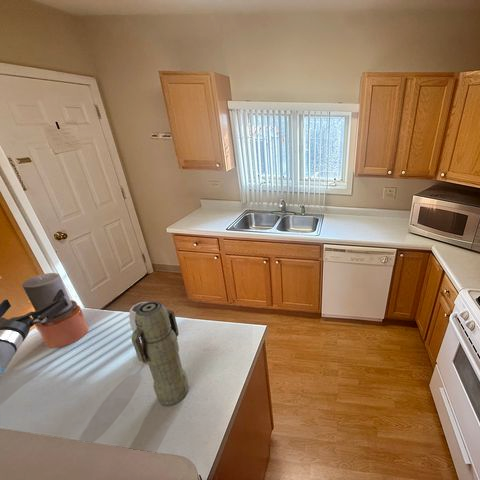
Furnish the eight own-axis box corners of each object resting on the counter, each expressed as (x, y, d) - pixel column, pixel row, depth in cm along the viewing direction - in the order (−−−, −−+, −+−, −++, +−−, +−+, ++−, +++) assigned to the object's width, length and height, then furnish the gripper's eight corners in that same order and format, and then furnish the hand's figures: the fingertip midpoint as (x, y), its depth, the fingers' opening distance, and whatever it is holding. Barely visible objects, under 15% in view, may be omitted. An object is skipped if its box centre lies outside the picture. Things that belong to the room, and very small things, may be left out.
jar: (36, 350, 95) (20, 323, 90) (59, 326, 107) (47, 301, 102) (77, 345, 98) (64, 319, 93) (95, 322, 110) (85, 297, 105)
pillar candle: (31, 320, 92) (12, 286, 86) (47, 304, 100) (31, 271, 94) (64, 315, 95) (48, 281, 89) (77, 299, 103) (64, 268, 97)
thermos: (147, 407, 78) (114, 318, 64) (175, 374, 89) (153, 291, 74) (171, 415, 76) (143, 325, 62) (197, 380, 87) (178, 297, 73)
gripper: (-58, 366, 67) (-12, 316, 83) (68, 334, 78) (86, 296, 95) (-74, 345, 64) (-24, 298, 80) (59, 315, 75) (79, 279, 92)
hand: (35, 297), depth 88 cm, fingers open, 13 cm apart
